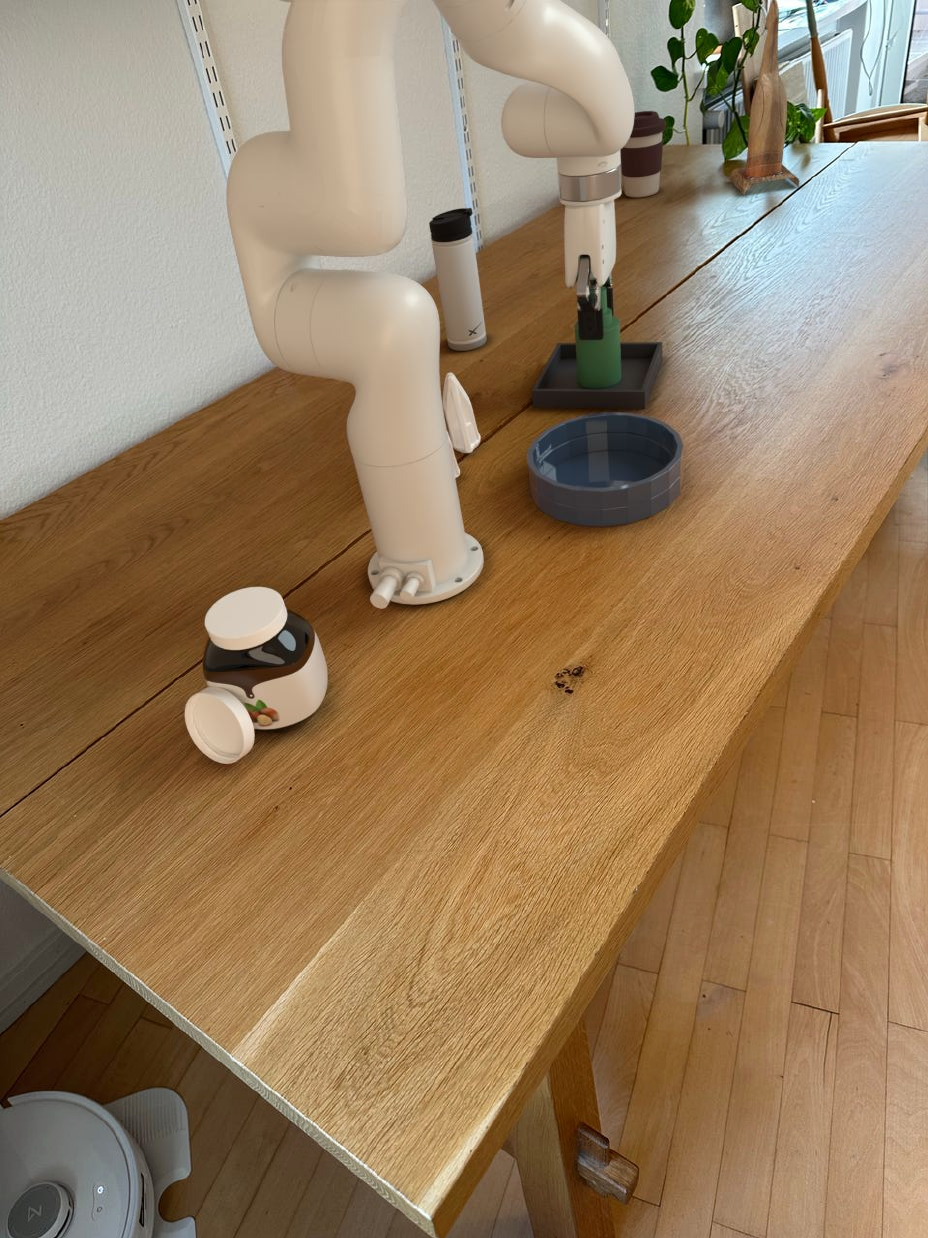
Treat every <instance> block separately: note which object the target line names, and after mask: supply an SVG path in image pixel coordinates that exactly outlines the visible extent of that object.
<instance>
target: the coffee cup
mask: <svg viewBox="0 0 928 1238" xmlns="http://www.w3.org/2000/svg"><path fill="white" fill-rule="evenodd" d="M634 112H635V115H634V125H633V130H632V133H631V135H630V138H629V140H628V141H627V143H626V144H625V146H624V147H623V148H622V149H621V150H620V157H621V176H622V178H623V191H624V195H625V196H626V197H629V198H637V199H638V198H646V197H650V196H653V195H655V194H657V193H658V192H659V191H660V178H661V171H662V166H663V165H662V164H663V163H662V162H663V148H664V147H663V146H664V139H663V132H664V131H665V130H666V128H667V127H666V125H667V123H666V122H667V121H666V119H664V118H662V117H660V116H659V113H658V112H657V111H654V110H644V111H643V110H642V111H634Z"/></svg>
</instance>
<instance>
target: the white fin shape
mask: <svg viewBox="0 0 928 1238" xmlns="http://www.w3.org/2000/svg"><path fill="white" fill-rule="evenodd" d="M442 405H443V412H444V418H445V422H446V426H447V428H448V431H447V434H448V440H449V445H450V451H451V457H452V463H453V468H454V474H455V479H456V478H458V477H459V476H460V475H461V469H460V467H459V464H458V461H457V458H456V455H455V451H454V450H456V451H457V452H459V453H462V454H471V453H473V451H474V450H475V449H476V448H478V447H479V445H480V444H481V438H482V437H481V434H480V433H479V430H478V427H477V422H476V417H475V414H474V413H475V412H474V410H473V406H472V403H471V400H470V397H469V396H468V394H467V392H466V391H465V389H464V388H463V386H462V385H461V383H460V381H459V379H458V378H457V376H456V375H455V374H454V373H453V372H447V373H446V375H445V379H444V383H443V391H442Z"/></svg>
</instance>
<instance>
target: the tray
mask: <svg viewBox="0 0 928 1238" xmlns="http://www.w3.org/2000/svg"><path fill="white" fill-rule="evenodd" d="M620 347H621V380H620V381H619V382H618V383H617V384H615V385H613V386H610V387H607V388H600V389H591V388H586V387H583V386H581V385H580V384H579V382H578V374H577V358H576V342H557V344H556V345H555V347H554V349H553V351H552V352H551V355H550V356H549V358H548V360H547V362H546V363H545V365H544V367H543V369H542V371H541V373H540V375H539V376H538V378H537V380H536V382H535V383H534V385H533V387H532V389H531V400H532V407H533V408H553V409H554V408H558V409H559V408H561V409H611V410H612V409H614V410H617V409H619V410H645V409H646V408H647V406H648V404H649V401H650V398H651V396H652V392H653V389H654V386H655V384H656V381H657V377H658V375H659V372H660V369H661V365H662V363H663V341H648V342H647V341H645V342H644V341H643V342H642V341H639V342H638V341H637V342H636V341H635V342H631V341H629V342H627V341H626V342H624V341H623V342H621V341H620Z"/></svg>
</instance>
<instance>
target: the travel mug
mask: <svg viewBox="0 0 928 1238" xmlns="http://www.w3.org/2000/svg"><path fill="white" fill-rule="evenodd" d="M473 214H474V213H473V208H472V207H466V208H465V207H461V208H455V209H451V210H448V211H444V212H442V213H439V214H437V215H435V216H433V217H432V218H431V219H432V220H430V221H429V223H428V225H429V226H428V227H429V232H430V241H431V247H432V253H433V258H434V259H433V260H434V265H435V266H434V267H435V272H436V278H437V285H438V290H439V296H440V303H441V309H442V316H443V322H444V328H445V335H446V339H447V346H448V347H449V349H451V350H453V351H457V352H468V351H473V350H476V349H479V348H481V347H483V346H484V345H485V344H486V342H487V331H486V323H485V316H484V315H485V314H484V308H483V299H482V292H481V285H480V276H479V269H478V262H477V254H476V245H475V239H474V232H473V228H472V220H471V217H472V215H473Z"/></svg>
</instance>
